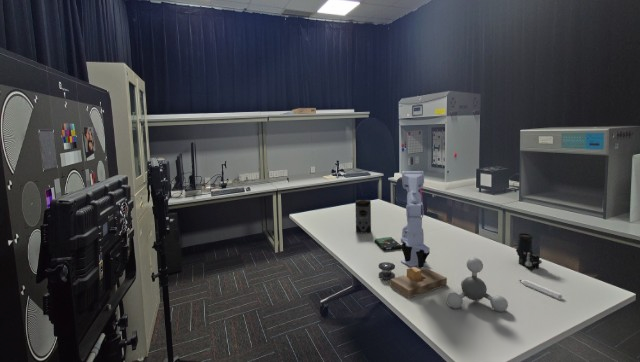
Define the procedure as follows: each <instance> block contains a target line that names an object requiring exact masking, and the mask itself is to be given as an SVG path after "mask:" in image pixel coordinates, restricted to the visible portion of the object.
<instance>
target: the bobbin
mask: <svg viewBox="0 0 640 362" xmlns="http://www.w3.org/2000/svg"><path fill="white" fill-rule="evenodd" d="M378 268H379V269H380V270H381V272H378V278H379V279H381V280H384V281H385V280H387V281H391V279H393V278H396V273H394V272H392V271H393V270H395V268H396V265H395V264H394V263H393V262H387V261H386V262H380V263H378Z"/></svg>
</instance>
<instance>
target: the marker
mask: <svg viewBox="0 0 640 362" xmlns="http://www.w3.org/2000/svg"><path fill="white" fill-rule="evenodd" d="M518 281H520V283H522V284H523V285H524V286H525V285H526V287H528V288H530V289H532V288H533V290H534V291H537V292H539V291H540V293H542V294H544V293H545V295H546V294H547V296H548V297H551V296H552V297H551V298H553V297H554V298H553V299H556V300H558V299H559V300H561V299H562V298H563V296H562V294H561V293H559V292H558V291H555V290H552V289H549V288H547V287H545V286H543V285H540V284H537V283H535V282H532V281H531V280H528V279H523V280H521V279H519V280H518ZM560 298H561V299H560Z"/></svg>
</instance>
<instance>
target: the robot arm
mask: <svg viewBox="0 0 640 362" xmlns="http://www.w3.org/2000/svg"><path fill="white" fill-rule="evenodd" d="M401 184H402V185H401V186H402V188H403V189H404V190H406V192H407V195H406V206H405V210H406V211H405V213H406V215H405V216H406V222H407V223H406V224H405V225H404V226H403V227H402V229H401V231H402V232H401V238H400V247H401V251H402V253H403V257H404V259H401V260H400V262H401V263H403V264H405V265H407V266H409V267H410V268H412V267H418V269H422V268H423V269H424V267H425V264H427V263H428V261H426V260H427V258H428V256H429V255H430V254H431V252H430V250H431V249H430V247H428V246H427V245H426V244H425V243H424V242H425V240H424V239H425V237H424V235H425V234H424V228H423V218H424V212H425V211H424V204H423V202H422V195H421V193H420V192H419V190H422V189H423V187H424V184H425V172H424V171H423V170H415V171H414V170H403V171H402V172H401Z"/></svg>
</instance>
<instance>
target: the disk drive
mask: <svg viewBox="0 0 640 362" xmlns="http://www.w3.org/2000/svg"><path fill="white" fill-rule="evenodd" d="M374 243H375V245H377V247H379V248H380V249H381V250H382V252H389V251H390V250H391V251H398V250H400V251H402V249H401V247H400V245H401V243H399V242H398V241H396V239H394V238H393V237H391V236H388V237H387V236H386V237H381V238H380V237H379V238H375V239H374Z"/></svg>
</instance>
